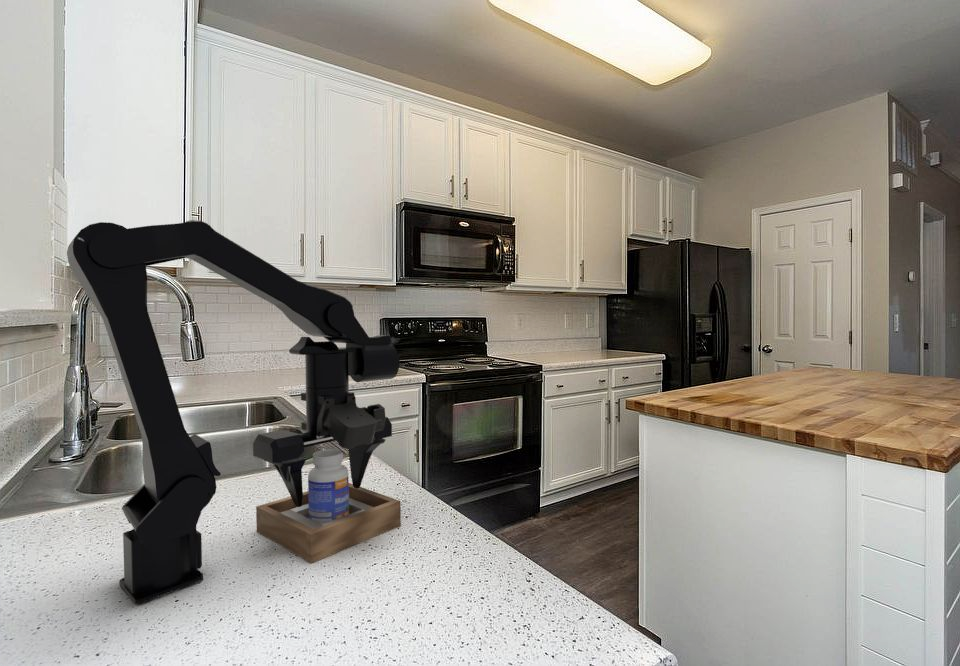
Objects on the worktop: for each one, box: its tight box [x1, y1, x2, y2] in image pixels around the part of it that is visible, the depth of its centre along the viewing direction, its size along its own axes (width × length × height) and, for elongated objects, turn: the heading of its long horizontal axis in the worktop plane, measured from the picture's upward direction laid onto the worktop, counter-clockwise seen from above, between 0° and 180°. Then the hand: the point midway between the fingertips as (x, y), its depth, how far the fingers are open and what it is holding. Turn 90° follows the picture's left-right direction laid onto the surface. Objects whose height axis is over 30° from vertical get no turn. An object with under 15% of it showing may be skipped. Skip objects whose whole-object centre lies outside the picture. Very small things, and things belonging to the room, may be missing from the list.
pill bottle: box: [307, 448, 349, 524], centre depth 68 cm, size 5×5×10 cm
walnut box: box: [255, 482, 402, 564], centre depth 68 cm, size 14×14×4 cm
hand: (329, 496), depth 68 cm, fingers open, 9 cm apart
